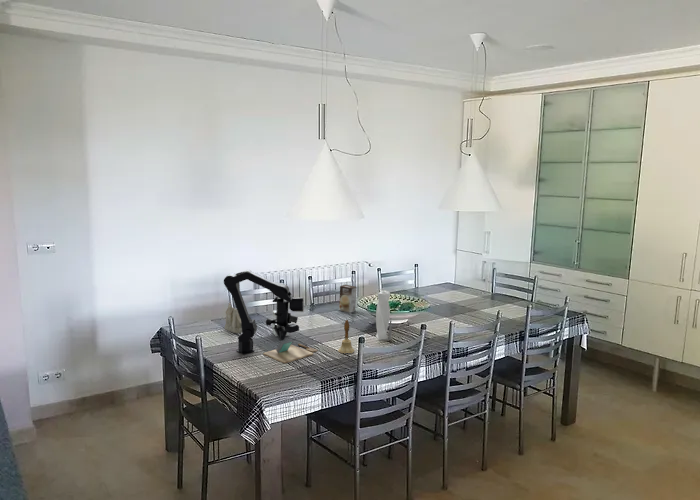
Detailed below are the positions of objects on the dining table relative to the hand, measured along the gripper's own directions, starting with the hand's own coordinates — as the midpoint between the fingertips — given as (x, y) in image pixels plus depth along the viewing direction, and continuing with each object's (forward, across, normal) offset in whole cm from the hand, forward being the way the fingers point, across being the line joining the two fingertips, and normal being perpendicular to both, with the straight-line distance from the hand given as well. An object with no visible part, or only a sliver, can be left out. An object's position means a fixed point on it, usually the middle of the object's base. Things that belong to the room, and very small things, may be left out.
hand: (282, 341), depth 260 cm
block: (+4, 0, 0) cm, 4 cm away
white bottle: (+6, -18, -55) cm, 58 cm away
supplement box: (+6, +23, -18) cm, 30 cm away
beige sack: (+6, +46, -8) cm, 47 cm away
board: (+6, -4, -1) cm, 7 cm away
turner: (+6, -3, -13) cm, 15 cm away
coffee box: (+6, +33, -81) cm, 88 cm away
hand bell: (+6, -19, -26) cm, 33 cm away
